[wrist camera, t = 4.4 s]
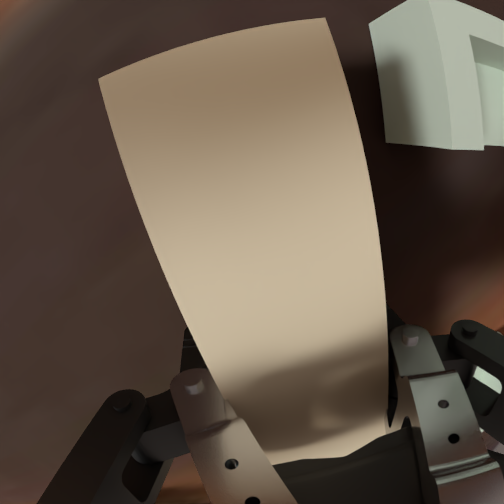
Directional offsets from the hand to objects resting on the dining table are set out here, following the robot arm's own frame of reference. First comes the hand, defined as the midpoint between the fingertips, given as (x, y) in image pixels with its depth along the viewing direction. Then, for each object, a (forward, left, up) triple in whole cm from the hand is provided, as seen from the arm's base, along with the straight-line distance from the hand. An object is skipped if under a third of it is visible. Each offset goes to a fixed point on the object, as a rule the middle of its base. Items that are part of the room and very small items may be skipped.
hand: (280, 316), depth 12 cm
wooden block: (0, 0, -1) cm, 1 cm away
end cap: (-9, +10, -1) cm, 13 cm away
